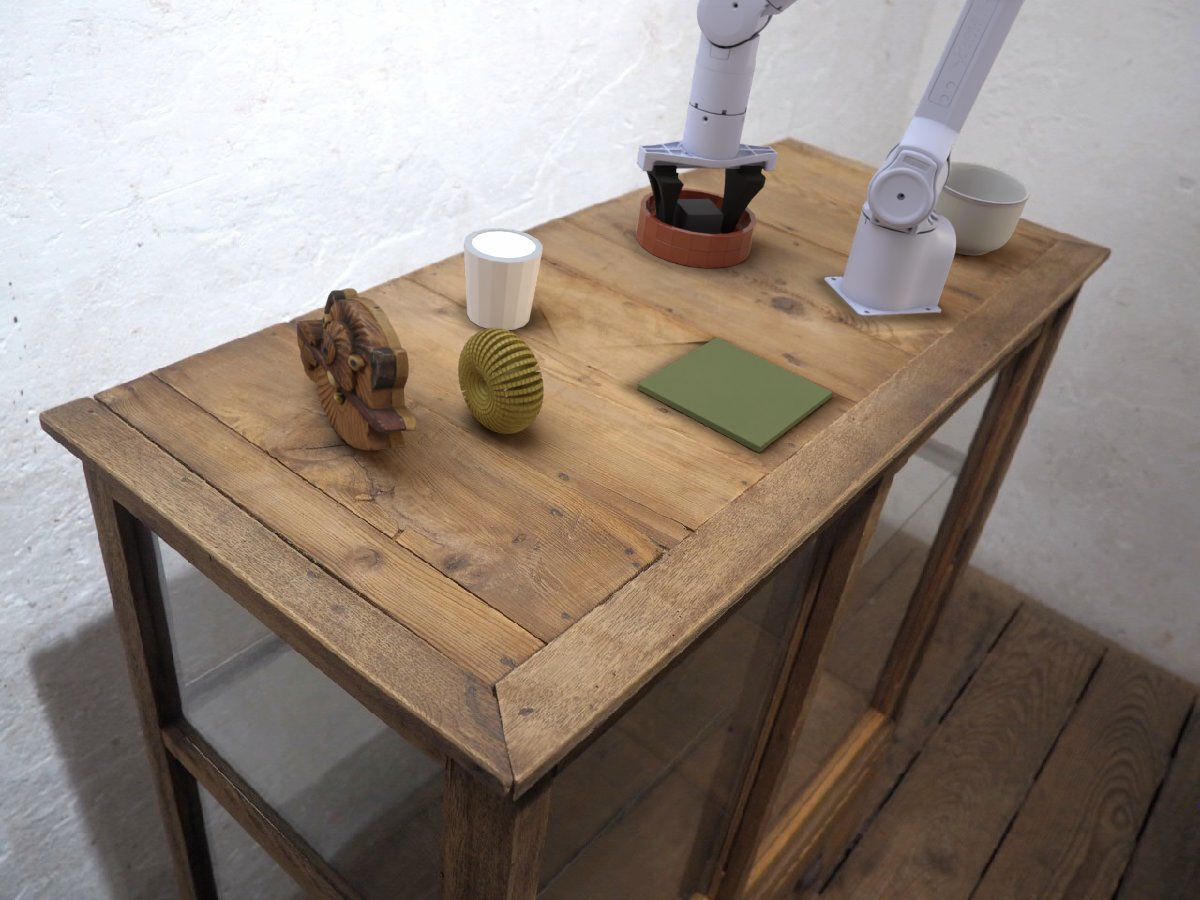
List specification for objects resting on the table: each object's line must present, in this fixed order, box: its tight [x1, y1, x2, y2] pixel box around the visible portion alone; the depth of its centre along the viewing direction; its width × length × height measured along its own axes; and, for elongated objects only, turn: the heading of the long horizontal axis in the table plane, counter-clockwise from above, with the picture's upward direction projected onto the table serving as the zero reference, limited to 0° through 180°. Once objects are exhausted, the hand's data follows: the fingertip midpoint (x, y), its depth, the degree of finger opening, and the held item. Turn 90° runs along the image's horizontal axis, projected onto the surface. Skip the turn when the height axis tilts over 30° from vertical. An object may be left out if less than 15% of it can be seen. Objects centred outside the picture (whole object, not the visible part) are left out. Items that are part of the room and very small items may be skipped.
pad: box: [636, 337, 833, 453], centre depth 88 cm, size 12×12×1 cm
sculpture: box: [457, 328, 545, 435], centre depth 78 cm, size 8×4×8 cm, turn 40°
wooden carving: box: [296, 287, 417, 451], centre depth 75 cm, size 16×5×10 cm, turn 38°
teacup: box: [935, 160, 1031, 257], centre depth 119 cm, size 14×11×8 cm
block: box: [673, 199, 724, 234], centre depth 110 cm, size 4×4×4 cm
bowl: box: [635, 187, 758, 269], centre depth 111 cm, size 12×12×4 cm
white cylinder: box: [463, 227, 544, 331], centre depth 93 cm, size 7×7×7 cm
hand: (694, 234), depth 111 cm, fingers open, 6 cm apart
